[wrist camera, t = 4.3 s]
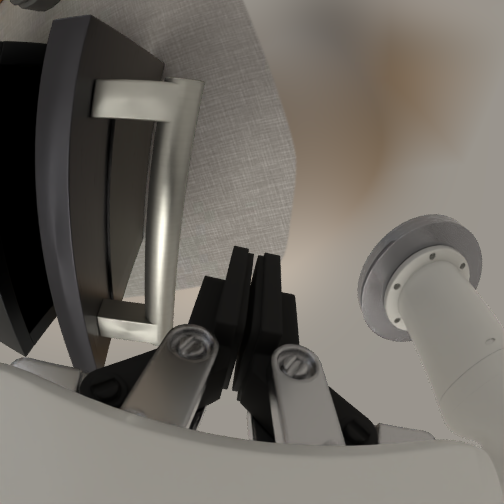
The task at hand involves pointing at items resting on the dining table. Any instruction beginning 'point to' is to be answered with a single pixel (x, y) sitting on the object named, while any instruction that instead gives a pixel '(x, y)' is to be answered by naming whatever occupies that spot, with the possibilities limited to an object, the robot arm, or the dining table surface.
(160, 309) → the oven door
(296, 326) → the robot arm
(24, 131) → the oven
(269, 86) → the dining table surface
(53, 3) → the candle holder
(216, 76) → the dining table surface
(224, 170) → the dining table surface
